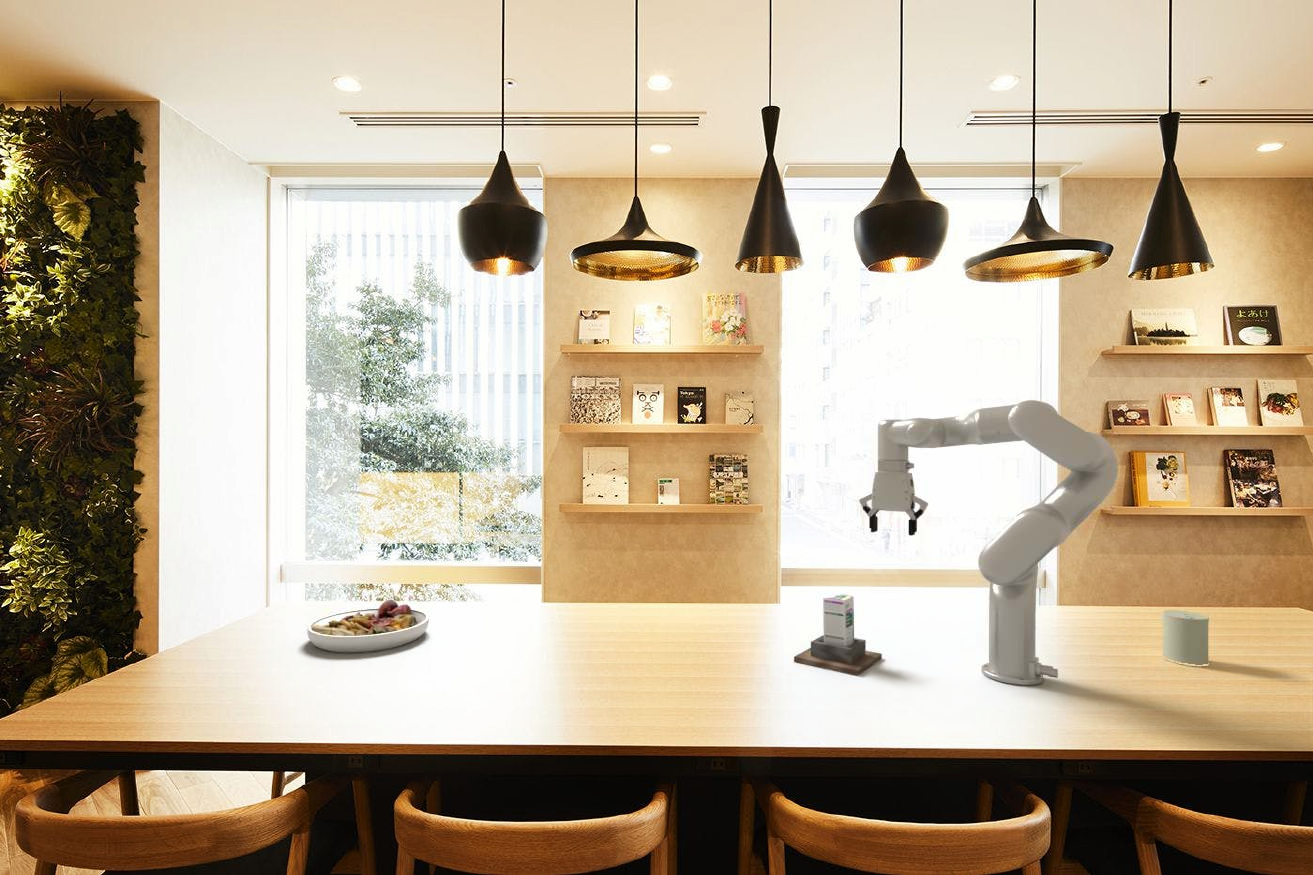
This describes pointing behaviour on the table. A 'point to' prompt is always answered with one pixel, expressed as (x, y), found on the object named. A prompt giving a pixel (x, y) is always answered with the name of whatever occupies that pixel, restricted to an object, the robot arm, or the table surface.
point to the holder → (839, 656)
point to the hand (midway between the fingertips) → (892, 533)
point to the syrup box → (838, 620)
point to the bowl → (368, 628)
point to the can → (1185, 637)
